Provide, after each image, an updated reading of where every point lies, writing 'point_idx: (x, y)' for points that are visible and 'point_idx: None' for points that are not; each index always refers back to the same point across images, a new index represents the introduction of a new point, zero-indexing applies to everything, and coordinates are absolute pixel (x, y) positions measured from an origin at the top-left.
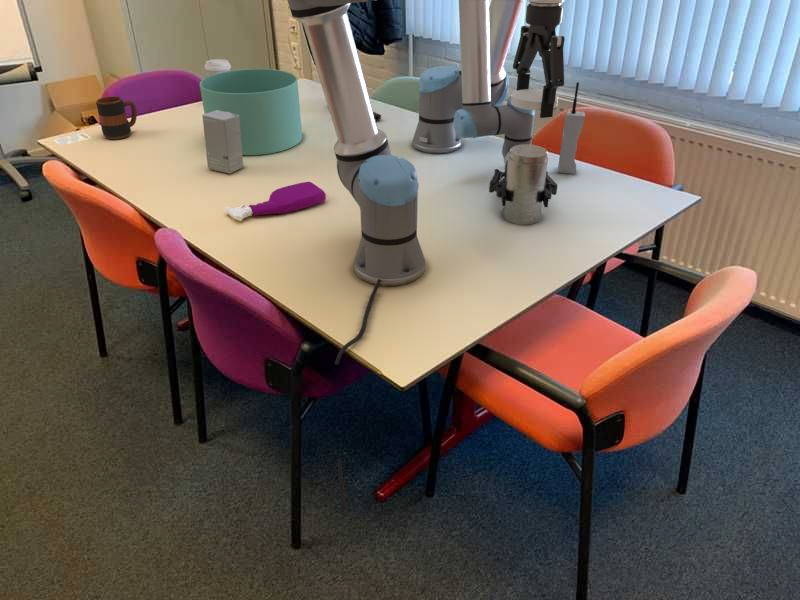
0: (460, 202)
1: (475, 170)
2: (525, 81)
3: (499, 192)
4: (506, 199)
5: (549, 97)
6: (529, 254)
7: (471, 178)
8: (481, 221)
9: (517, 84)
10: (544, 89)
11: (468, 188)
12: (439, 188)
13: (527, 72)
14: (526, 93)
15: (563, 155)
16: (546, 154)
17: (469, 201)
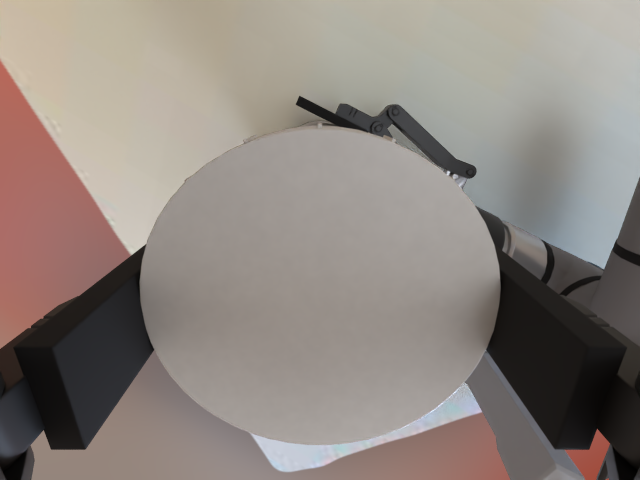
0: (451, 56)
1: (599, 190)
2: (528, 366)
3: (339, 107)
4: (322, 122)
5: (39, 322)
6: (146, 85)
7: (563, 156)
8: (330, 57)
9: (550, 293)
10: (44, 335)
11: (515, 119)
12: (558, 39)
13: (607, 454)
14: (385, 282)
15: (491, 378)
16: None
17: (445, 83)
